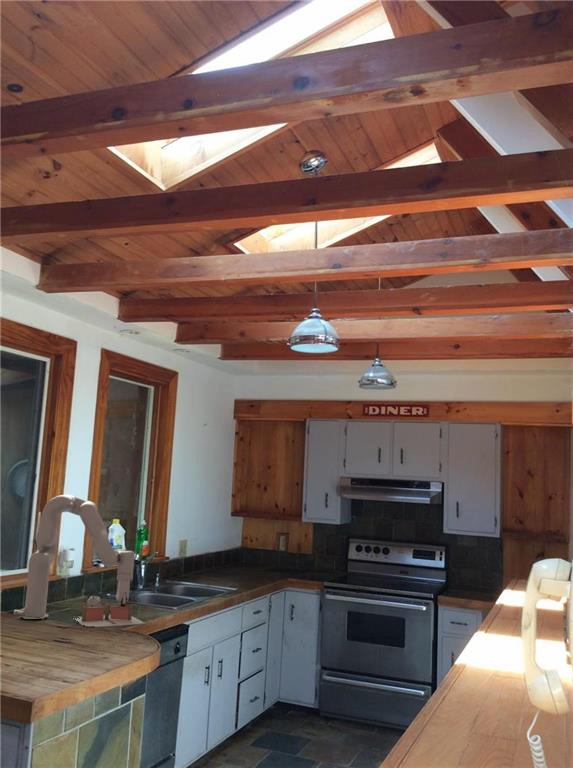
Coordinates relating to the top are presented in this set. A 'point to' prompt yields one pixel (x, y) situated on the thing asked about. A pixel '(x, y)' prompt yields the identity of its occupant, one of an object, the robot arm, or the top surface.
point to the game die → (94, 601)
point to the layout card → (109, 622)
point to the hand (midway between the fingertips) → (121, 615)
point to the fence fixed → (95, 613)
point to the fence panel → (121, 612)
